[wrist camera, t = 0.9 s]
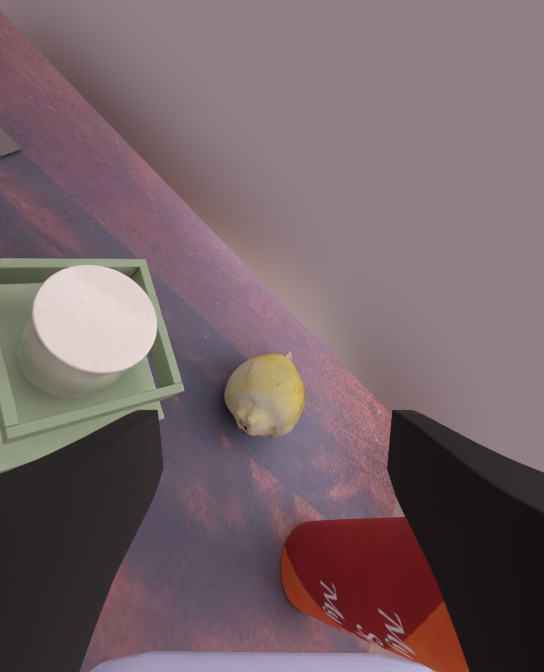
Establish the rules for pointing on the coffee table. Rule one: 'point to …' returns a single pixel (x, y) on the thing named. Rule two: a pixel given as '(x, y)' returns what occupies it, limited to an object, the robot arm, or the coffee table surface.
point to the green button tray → (31, 403)
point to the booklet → (7, 143)
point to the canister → (85, 331)
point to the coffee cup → (372, 587)
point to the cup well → (5, 418)
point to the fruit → (266, 395)
